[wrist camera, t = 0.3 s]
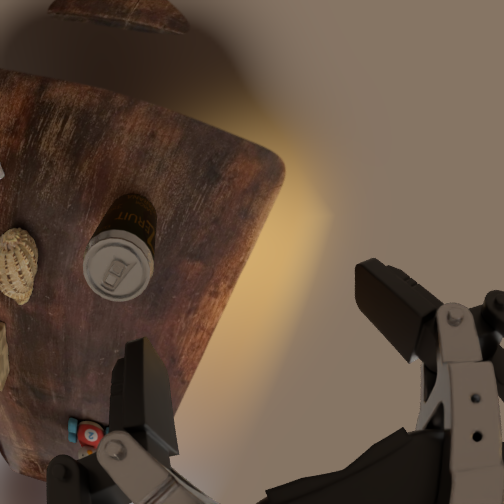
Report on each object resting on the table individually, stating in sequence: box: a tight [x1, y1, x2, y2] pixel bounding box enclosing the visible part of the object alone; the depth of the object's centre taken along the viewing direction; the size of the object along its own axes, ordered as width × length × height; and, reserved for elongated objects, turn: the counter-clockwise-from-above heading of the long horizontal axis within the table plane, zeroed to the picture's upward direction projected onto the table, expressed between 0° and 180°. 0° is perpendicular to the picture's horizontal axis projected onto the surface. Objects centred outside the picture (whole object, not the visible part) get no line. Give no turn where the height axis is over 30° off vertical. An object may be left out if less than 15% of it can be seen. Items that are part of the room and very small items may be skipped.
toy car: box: [68, 418, 109, 459], centre depth 37 cm, size 9×9×10 cm
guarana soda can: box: [83, 194, 157, 302], centre depth 23 cm, size 5×5×12 cm
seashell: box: [0, 228, 38, 305], centre depth 24 cm, size 8×6×10 cm
